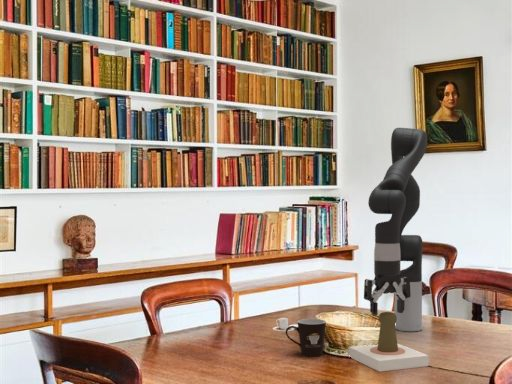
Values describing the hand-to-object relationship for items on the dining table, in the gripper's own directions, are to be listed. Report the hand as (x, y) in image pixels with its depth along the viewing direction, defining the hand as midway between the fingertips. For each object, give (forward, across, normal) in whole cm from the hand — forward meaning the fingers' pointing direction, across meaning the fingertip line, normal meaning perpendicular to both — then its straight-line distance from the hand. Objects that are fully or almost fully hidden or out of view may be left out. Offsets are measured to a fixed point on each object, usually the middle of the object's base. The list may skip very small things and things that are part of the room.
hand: (387, 313), depth 213 cm
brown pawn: (+11, 0, 0) cm, 11 cm away
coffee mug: (+14, +18, -17) cm, 28 cm away
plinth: (+14, 0, 0) cm, 14 cm away
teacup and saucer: (+15, +10, -50) cm, 53 cm away
